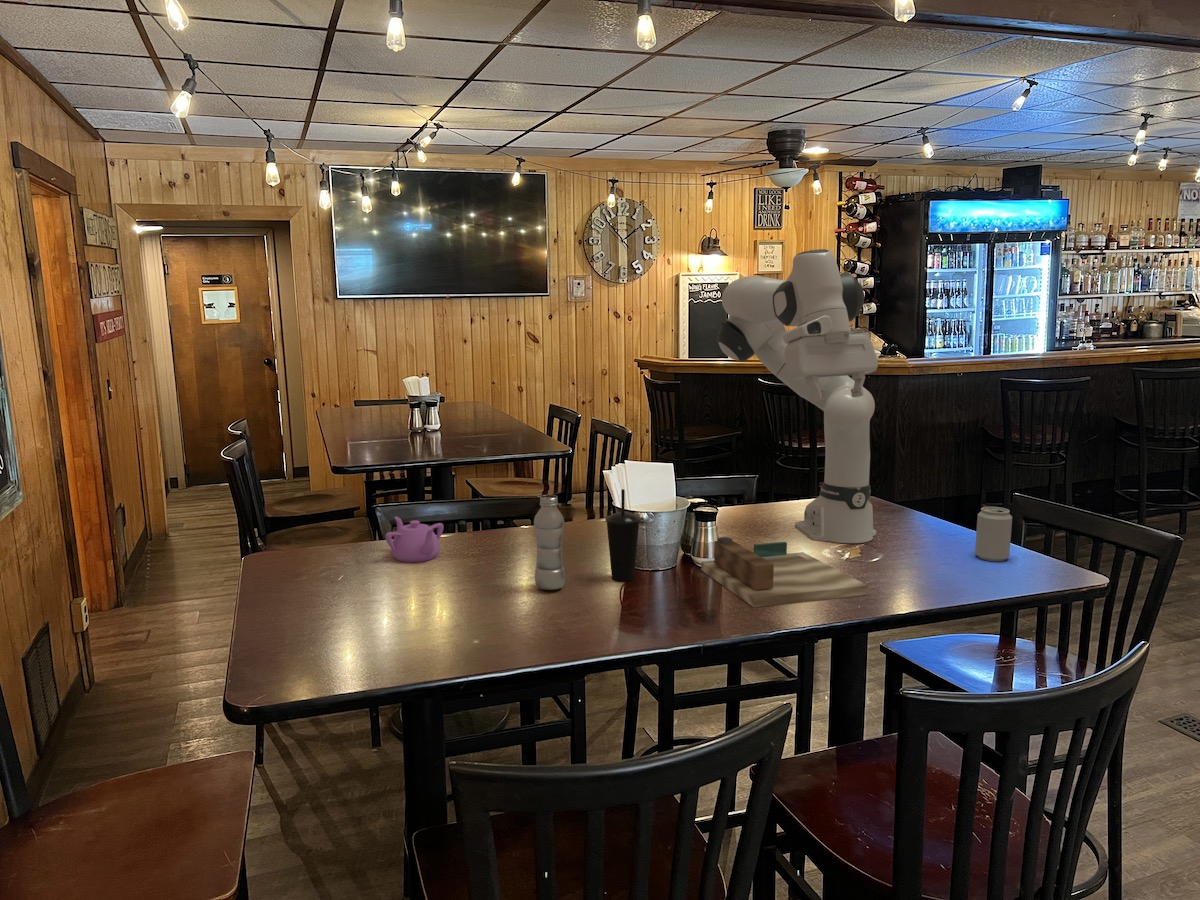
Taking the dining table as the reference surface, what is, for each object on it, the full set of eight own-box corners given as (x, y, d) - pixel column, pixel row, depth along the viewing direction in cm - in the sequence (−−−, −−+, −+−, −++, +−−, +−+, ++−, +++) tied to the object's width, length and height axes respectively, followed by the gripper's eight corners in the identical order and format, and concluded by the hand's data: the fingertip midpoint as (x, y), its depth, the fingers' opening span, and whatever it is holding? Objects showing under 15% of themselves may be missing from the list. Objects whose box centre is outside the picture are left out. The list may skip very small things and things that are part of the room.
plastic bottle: (542, 595, 180) (541, 501, 177) (529, 586, 186) (528, 495, 183) (570, 590, 183) (569, 498, 180) (557, 582, 189) (556, 492, 186)
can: (1014, 562, 203) (1018, 512, 202) (982, 562, 204) (986, 512, 202) (1000, 553, 211) (1004, 505, 209) (969, 553, 211) (973, 505, 209)
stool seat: (701, 570, 198) (701, 548, 197) (802, 560, 205) (803, 539, 204) (754, 607, 173) (754, 583, 172) (867, 594, 181) (868, 571, 180)
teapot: (434, 565, 202) (433, 528, 200) (377, 563, 204) (375, 526, 202) (450, 551, 213) (449, 516, 212) (396, 549, 215) (394, 514, 214)
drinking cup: (622, 571, 197) (622, 484, 194) (647, 578, 192) (647, 489, 188) (598, 578, 192) (598, 489, 189) (623, 586, 186) (623, 494, 183)
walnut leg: (713, 561, 196) (713, 537, 195) (729, 560, 197) (729, 536, 196) (755, 590, 177) (756, 563, 176) (773, 588, 178) (773, 561, 177)
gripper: (856, 331, 178) (868, 398, 177) (775, 335, 169) (788, 405, 168) (877, 323, 172) (890, 391, 171) (795, 326, 163) (808, 398, 162)
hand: (839, 398), depth 169 cm, fingers open, 8 cm apart
